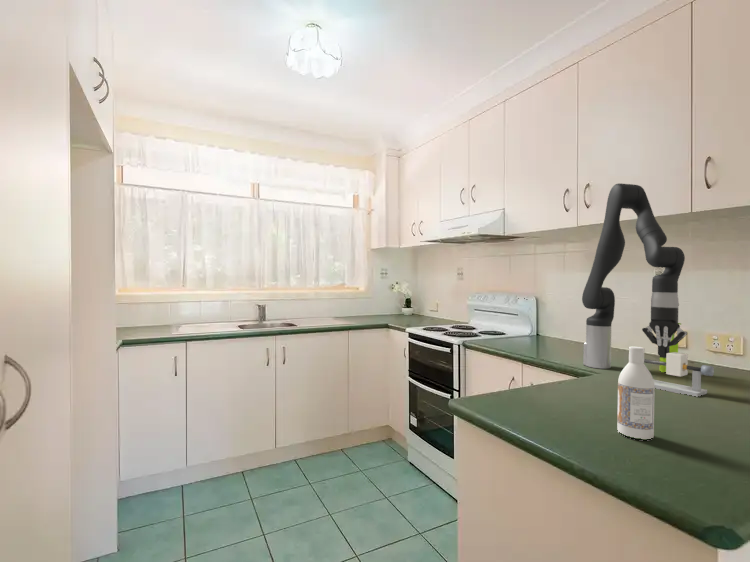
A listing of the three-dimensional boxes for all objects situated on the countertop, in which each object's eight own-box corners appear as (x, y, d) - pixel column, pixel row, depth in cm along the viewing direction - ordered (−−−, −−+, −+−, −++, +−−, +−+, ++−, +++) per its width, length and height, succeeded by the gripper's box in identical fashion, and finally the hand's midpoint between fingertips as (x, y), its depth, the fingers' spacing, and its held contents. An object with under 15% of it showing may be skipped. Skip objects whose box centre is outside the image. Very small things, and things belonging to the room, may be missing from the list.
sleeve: (666, 374, 132) (666, 353, 132) (673, 372, 135) (673, 352, 135) (680, 376, 128) (680, 355, 128) (687, 374, 131) (687, 353, 131)
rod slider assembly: (627, 382, 140) (627, 355, 140) (638, 380, 145) (638, 353, 145) (706, 399, 122) (707, 367, 122) (716, 395, 126) (716, 365, 126)
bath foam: (619, 427, 96) (621, 343, 96) (655, 435, 91) (656, 347, 91) (614, 435, 90) (616, 347, 90) (651, 444, 86) (653, 350, 86)
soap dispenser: (683, 374, 156) (684, 323, 156) (663, 373, 157) (664, 322, 157) (675, 371, 162) (676, 321, 162) (656, 369, 163) (657, 320, 163)
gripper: (637, 305, 138) (636, 355, 138) (683, 307, 127) (682, 361, 127) (647, 304, 142) (646, 353, 142) (692, 307, 131) (691, 359, 131)
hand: (663, 357), depth 134 cm, fingers closed
